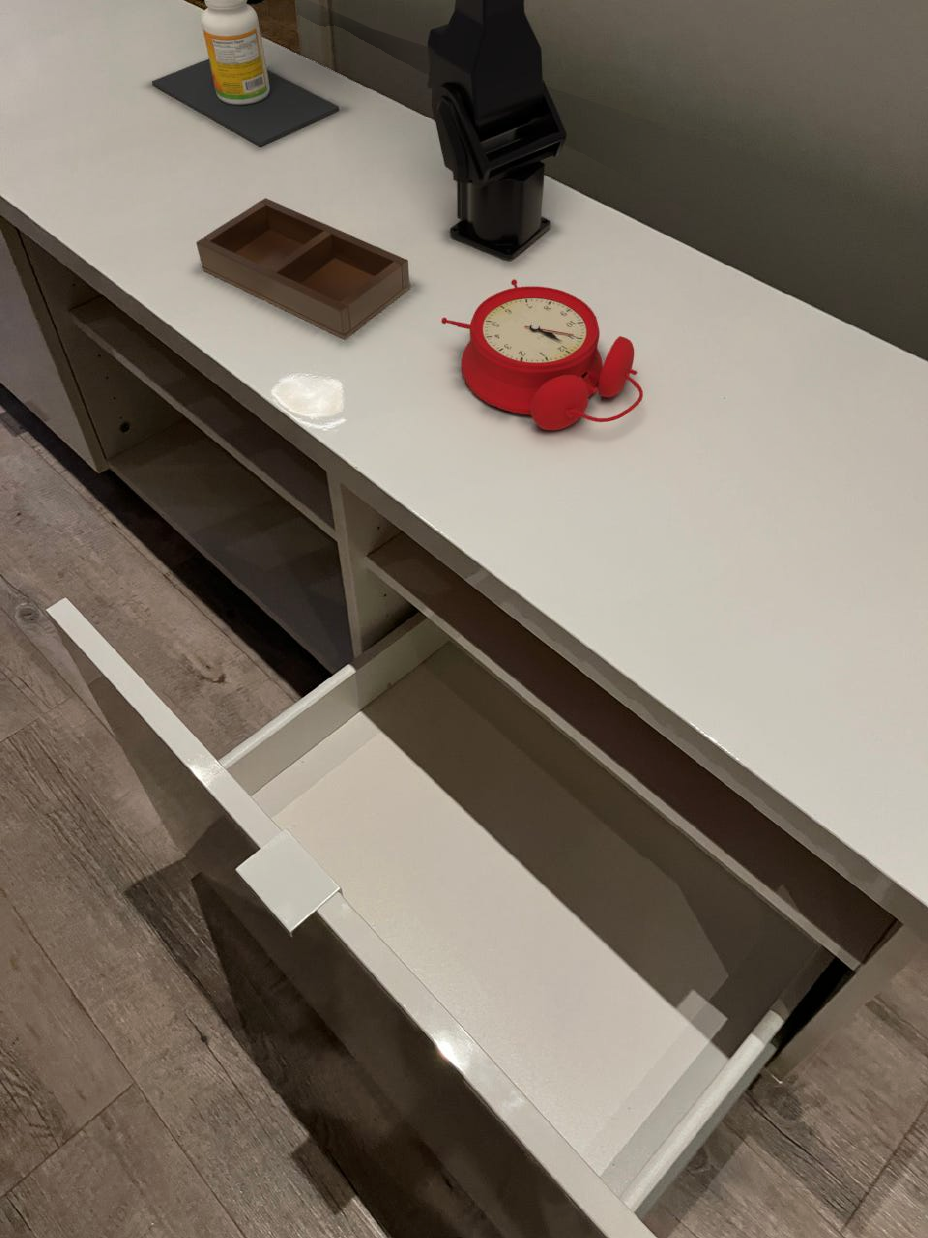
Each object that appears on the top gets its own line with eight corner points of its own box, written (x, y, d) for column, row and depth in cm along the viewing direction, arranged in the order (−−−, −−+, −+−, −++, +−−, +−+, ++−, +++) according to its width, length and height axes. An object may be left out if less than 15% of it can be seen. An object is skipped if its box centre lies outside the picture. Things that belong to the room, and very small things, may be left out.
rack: (270, 226, 80) (265, 197, 78) (409, 288, 75) (408, 259, 73) (203, 270, 76) (195, 241, 74) (344, 339, 71) (340, 310, 69)
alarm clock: (524, 261, 70) (680, 310, 61) (532, 336, 75) (679, 393, 66) (420, 318, 66) (571, 380, 57) (436, 394, 71) (578, 463, 62)
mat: (339, 110, 92) (339, 106, 92) (260, 147, 88) (259, 142, 88) (230, 53, 100) (229, 49, 99) (152, 85, 95) (151, 81, 95)
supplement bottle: (225, 79, 95) (203, -29, 87) (276, 83, 95) (258, -27, 87) (210, 104, 92) (185, -6, 84) (262, 108, 92) (243, -3, 84)
